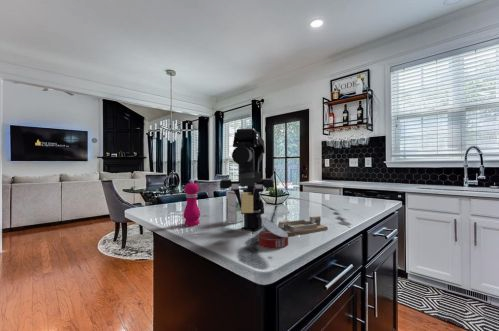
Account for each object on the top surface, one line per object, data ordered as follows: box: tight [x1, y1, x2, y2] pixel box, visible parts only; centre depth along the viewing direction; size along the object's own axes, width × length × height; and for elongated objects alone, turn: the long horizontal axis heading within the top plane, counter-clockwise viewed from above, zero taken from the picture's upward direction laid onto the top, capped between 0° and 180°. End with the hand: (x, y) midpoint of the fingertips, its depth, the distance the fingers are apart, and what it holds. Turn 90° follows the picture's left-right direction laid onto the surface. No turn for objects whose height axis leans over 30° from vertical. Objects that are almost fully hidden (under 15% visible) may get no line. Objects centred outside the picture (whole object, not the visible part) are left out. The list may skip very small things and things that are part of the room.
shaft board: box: [277, 215, 329, 237], centre depth 97 cm, size 10×20×4 cm, turn 115°
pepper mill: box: [182, 178, 201, 227], centre depth 107 cm, size 7×7×20 cm
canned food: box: [258, 216, 289, 250], centre depth 81 cm, size 11×10×10 cm
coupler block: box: [241, 192, 253, 213], centre depth 87 cm, size 4×8×6 cm, turn 4°
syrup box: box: [225, 189, 244, 224], centre depth 111 cm, size 6×6×14 cm
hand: (246, 207), depth 87 cm, fingers closed on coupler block, 4 cm apart
